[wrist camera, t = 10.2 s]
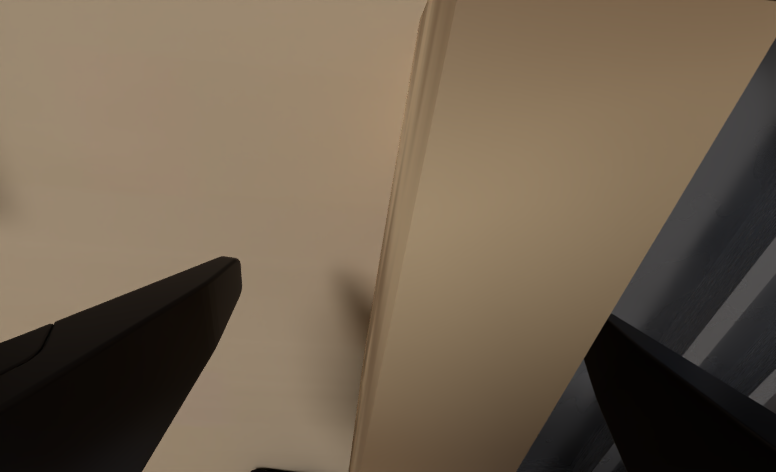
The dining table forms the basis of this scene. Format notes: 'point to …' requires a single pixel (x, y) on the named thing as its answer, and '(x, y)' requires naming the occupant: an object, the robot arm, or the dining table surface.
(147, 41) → the dining table surface
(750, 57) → the oak sheet
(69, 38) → the dining table surface
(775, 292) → the rack
